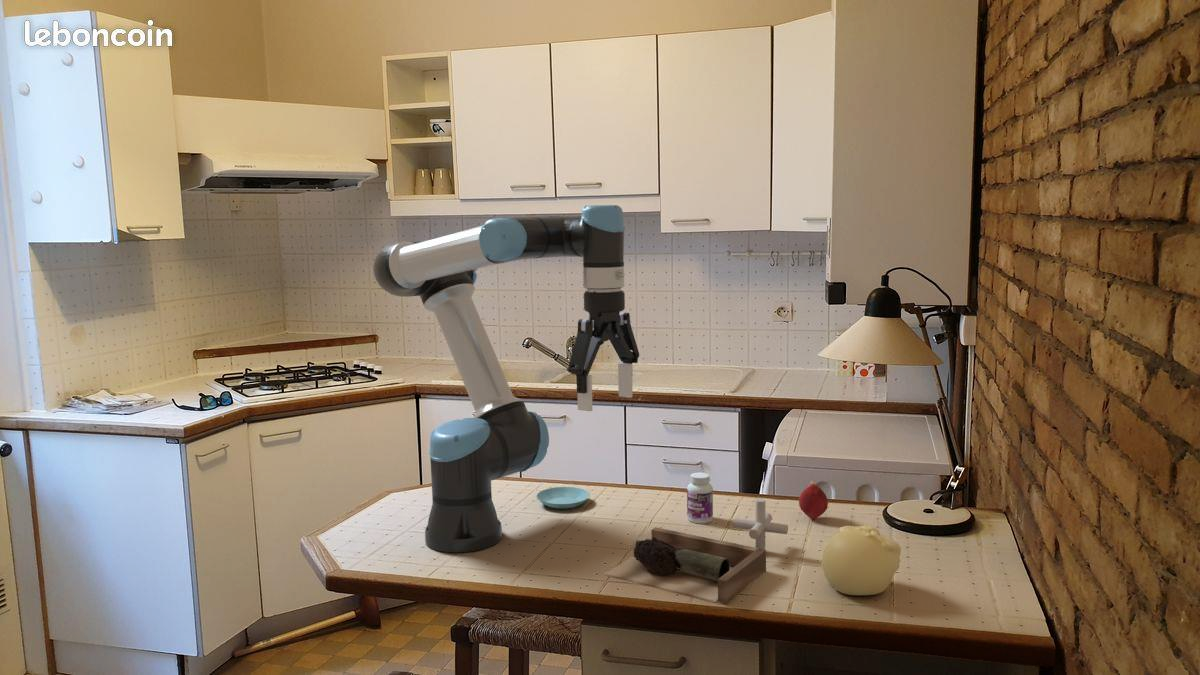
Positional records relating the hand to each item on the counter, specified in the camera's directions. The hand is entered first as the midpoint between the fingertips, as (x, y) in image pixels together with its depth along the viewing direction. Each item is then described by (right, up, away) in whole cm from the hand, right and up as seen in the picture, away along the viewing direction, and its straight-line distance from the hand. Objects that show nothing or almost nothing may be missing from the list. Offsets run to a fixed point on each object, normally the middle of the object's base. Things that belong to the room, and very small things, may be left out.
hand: (606, 403), depth 167 cm
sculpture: (+43, -30, -16) cm, 55 cm away
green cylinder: (+12, -30, -9) cm, 33 cm away
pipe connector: (+29, -28, +2) cm, 41 cm away
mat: (+12, -30, -10) cm, 34 cm away
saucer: (-9, -25, +32) cm, 42 cm away
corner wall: (+15, -30, -8) cm, 34 cm away
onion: (+43, -26, +19) cm, 53 cm away
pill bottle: (+20, -26, +20) cm, 38 cm away
